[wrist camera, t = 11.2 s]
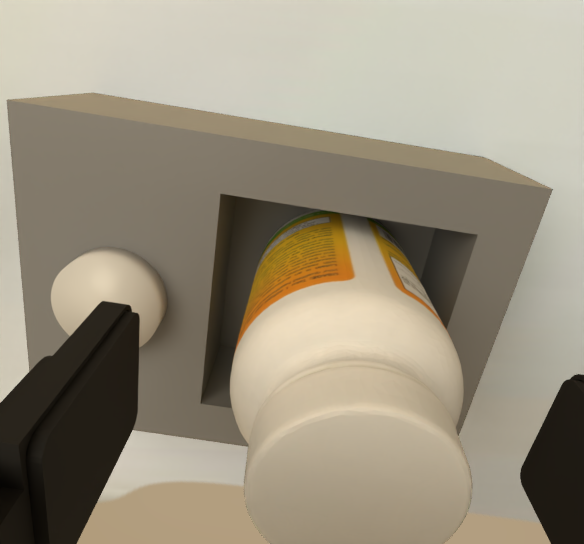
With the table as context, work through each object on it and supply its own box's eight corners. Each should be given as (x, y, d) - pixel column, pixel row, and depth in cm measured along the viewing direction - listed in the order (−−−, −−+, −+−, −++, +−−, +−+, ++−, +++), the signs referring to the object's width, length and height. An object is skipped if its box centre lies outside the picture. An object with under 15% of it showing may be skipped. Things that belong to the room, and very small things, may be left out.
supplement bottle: (244, 322, 18) (179, 571, 9) (275, 187, 16) (233, 336, 7) (378, 353, 18) (447, 623, 9) (427, 225, 16) (576, 413, 7)
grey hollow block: (493, 158, 17) (581, 198, 11) (420, 385, 20) (459, 494, 15) (92, 92, 16) (-15, 101, 11) (96, 337, 20) (19, 432, 15)
